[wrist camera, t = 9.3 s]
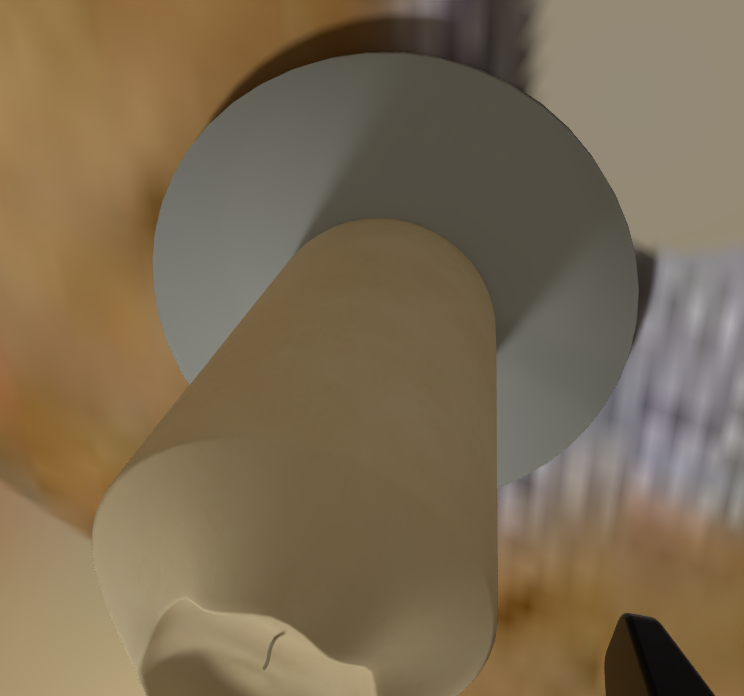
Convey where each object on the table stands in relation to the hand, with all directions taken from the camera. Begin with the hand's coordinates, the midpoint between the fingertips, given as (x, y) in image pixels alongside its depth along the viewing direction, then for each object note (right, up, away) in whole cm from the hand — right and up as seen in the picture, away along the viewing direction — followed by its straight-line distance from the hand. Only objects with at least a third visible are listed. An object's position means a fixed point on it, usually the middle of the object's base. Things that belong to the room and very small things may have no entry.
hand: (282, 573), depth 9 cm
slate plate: (+2, +4, +8) cm, 9 cm away
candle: (+2, +4, +7) cm, 8 cm away
